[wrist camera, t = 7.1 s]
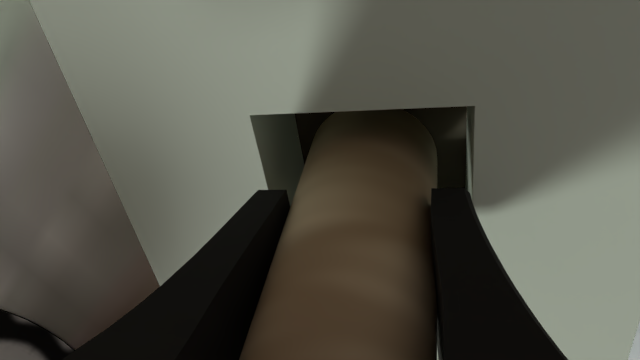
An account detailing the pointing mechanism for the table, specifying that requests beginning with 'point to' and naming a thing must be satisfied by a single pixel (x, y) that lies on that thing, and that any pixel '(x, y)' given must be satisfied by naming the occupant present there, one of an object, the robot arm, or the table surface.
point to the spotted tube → (28, 341)
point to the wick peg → (355, 248)
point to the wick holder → (380, 94)
